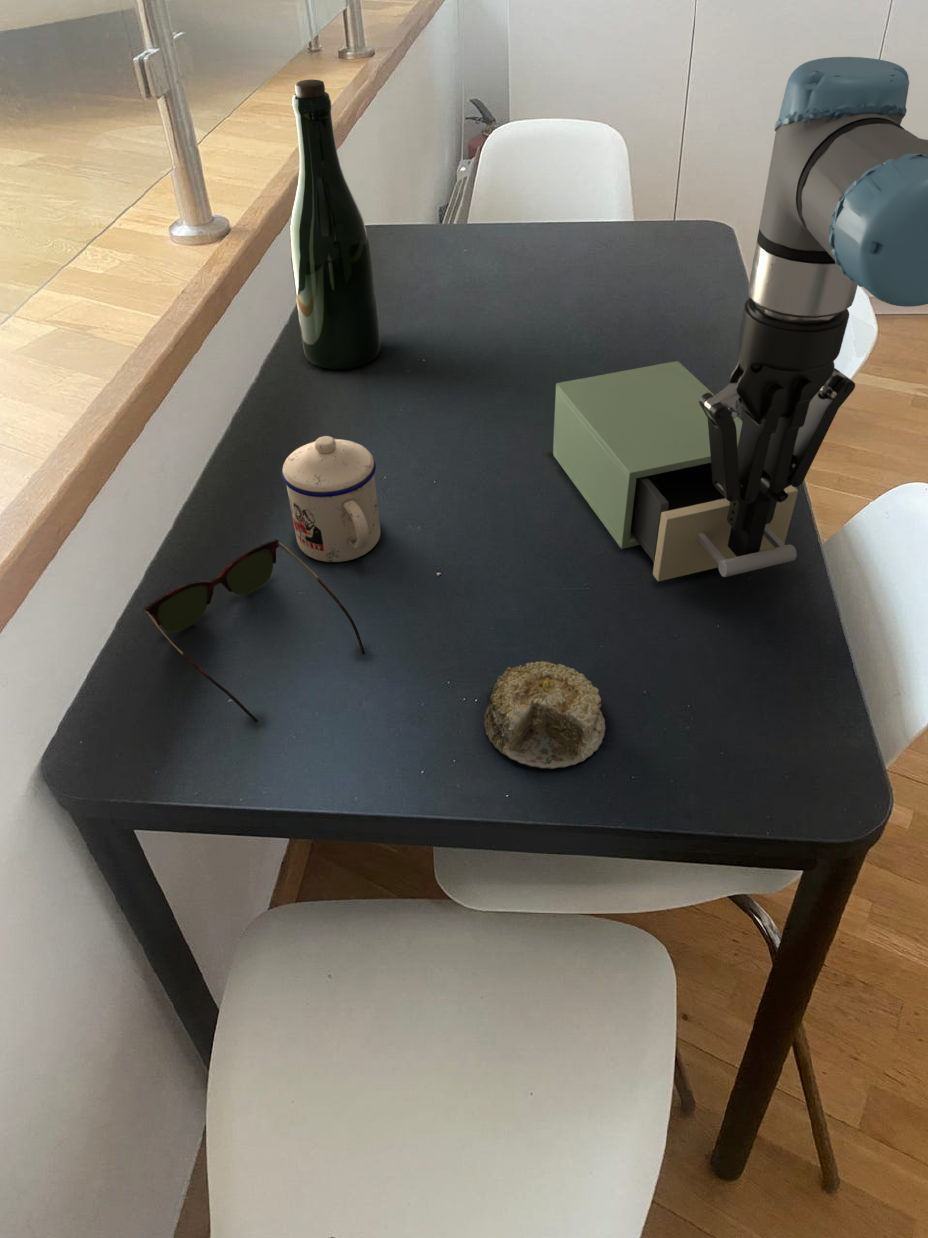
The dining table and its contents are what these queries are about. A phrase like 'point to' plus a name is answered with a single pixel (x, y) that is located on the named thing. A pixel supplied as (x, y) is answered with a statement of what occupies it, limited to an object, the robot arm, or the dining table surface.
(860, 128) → the robot arm
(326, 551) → the teacup with lid
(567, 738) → the cake
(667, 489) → the pull-out drawer
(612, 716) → the dining table surface
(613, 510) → the green drawer box
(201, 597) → the sunglasses
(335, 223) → the green wine bottle
